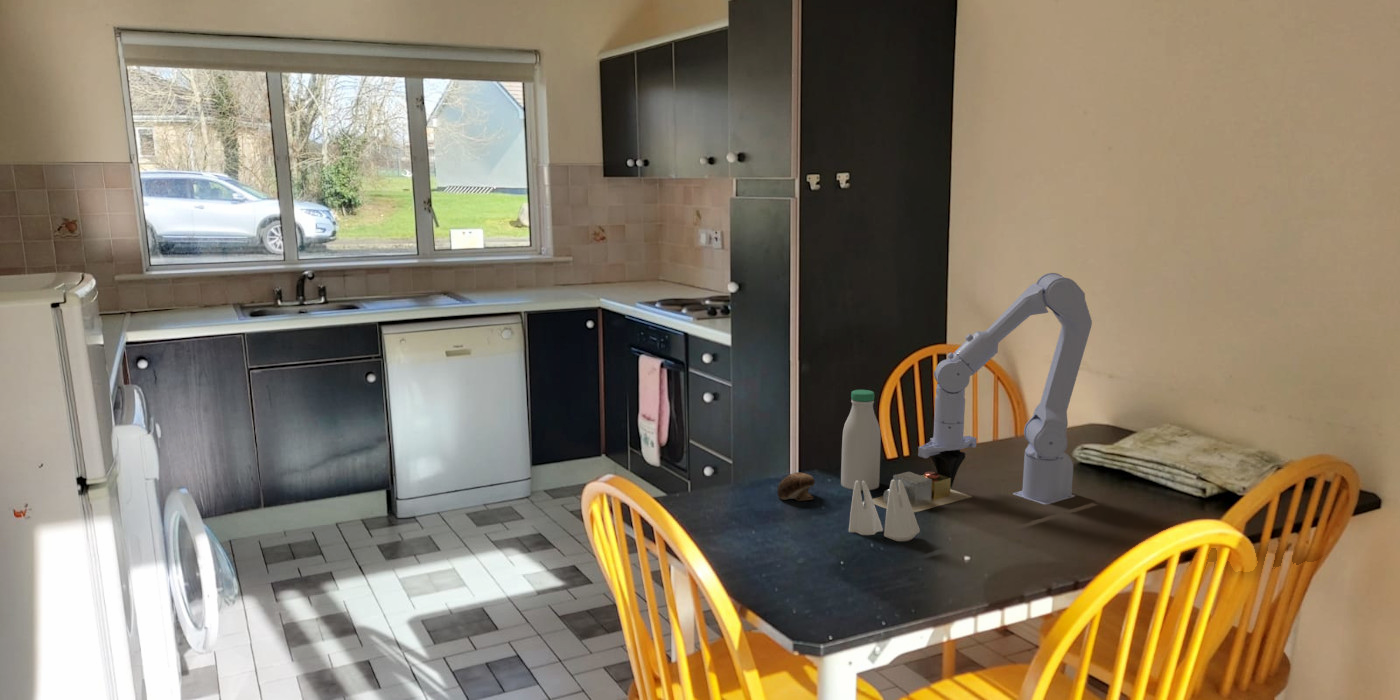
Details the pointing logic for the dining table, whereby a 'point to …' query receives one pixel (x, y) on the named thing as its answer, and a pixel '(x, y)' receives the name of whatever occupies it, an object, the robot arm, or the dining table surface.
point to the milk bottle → (861, 443)
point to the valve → (938, 485)
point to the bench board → (934, 503)
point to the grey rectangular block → (913, 488)
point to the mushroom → (796, 487)
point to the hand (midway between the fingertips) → (945, 486)
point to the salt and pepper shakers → (897, 514)
